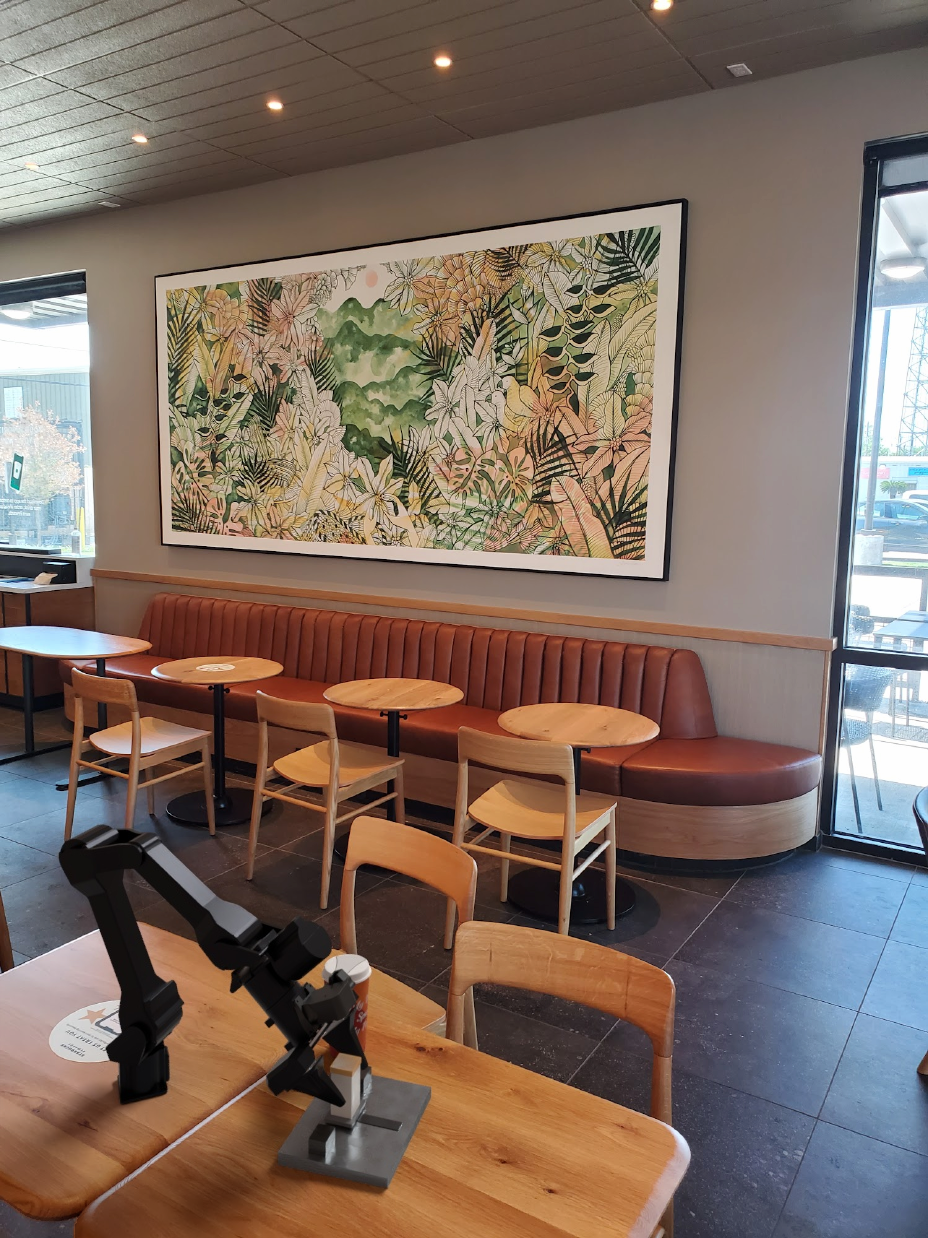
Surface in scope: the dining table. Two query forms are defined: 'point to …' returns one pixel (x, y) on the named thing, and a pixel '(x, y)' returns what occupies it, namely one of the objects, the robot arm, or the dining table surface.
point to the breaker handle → (346, 1090)
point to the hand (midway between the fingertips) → (355, 1086)
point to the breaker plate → (359, 1133)
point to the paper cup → (360, 975)
